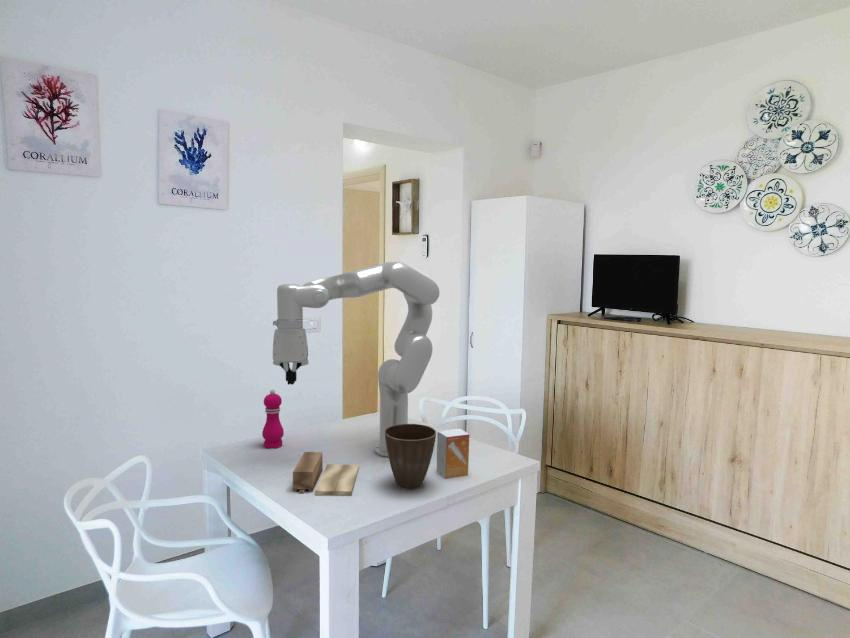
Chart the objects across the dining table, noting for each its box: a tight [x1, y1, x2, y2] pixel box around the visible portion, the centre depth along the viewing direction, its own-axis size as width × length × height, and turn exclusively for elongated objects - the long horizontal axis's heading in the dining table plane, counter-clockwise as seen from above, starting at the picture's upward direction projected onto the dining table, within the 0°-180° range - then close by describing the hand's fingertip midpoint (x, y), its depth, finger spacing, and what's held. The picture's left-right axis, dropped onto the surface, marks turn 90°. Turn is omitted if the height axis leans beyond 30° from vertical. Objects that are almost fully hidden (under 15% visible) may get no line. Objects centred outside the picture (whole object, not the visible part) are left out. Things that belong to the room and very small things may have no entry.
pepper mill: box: [261, 389, 285, 449], centre depth 191 cm, size 7×7×20 cm
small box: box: [436, 428, 470, 479], centre depth 169 cm, size 8×6×13 cm
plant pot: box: [385, 423, 437, 490], centre depth 160 cm, size 15×15×16 cm
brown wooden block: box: [292, 451, 323, 493], centre depth 162 cm, size 6×16×6 cm, turn 1°
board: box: [298, 463, 360, 497], centre depth 162 cm, size 15×20×1 cm
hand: (291, 383), depth 170 cm, fingers closed
